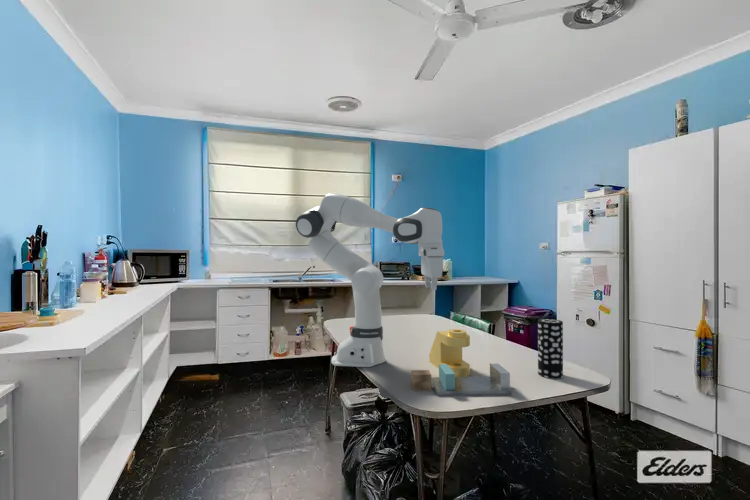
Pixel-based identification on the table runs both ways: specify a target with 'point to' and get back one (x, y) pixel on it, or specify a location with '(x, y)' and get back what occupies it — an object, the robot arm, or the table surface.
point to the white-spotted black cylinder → (550, 348)
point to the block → (420, 380)
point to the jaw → (447, 377)
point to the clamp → (450, 351)
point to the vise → (477, 384)
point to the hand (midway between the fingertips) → (430, 288)
